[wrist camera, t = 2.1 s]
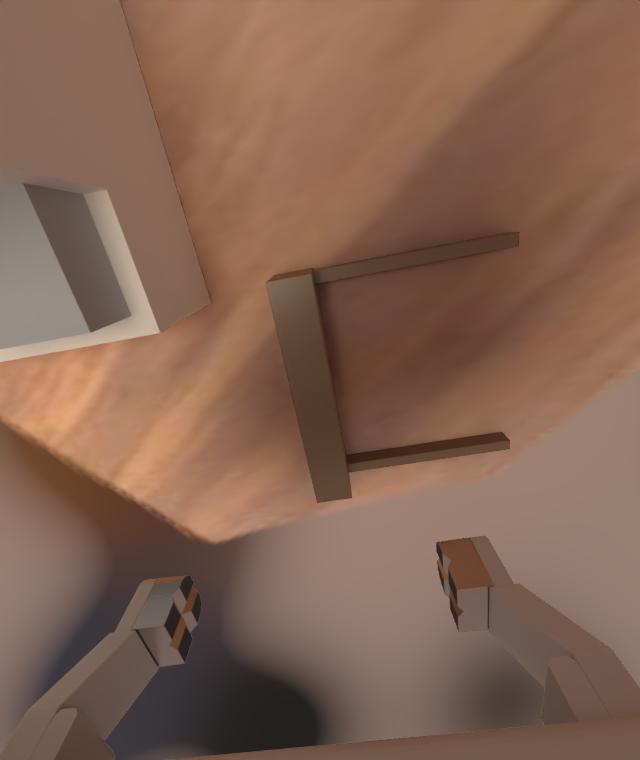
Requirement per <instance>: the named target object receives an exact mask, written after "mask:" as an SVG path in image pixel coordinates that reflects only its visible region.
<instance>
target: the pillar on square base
mask: <svg viewBox="0 0 640 760" xmlns="http://www.w3.org/2000/svg"><path fill="white" fill-rule="evenodd" d="M210 303H211V301H210V297H209V294H208V291H207V287H206V284H205V281H204V277H203V274H202V271H201V268H200V264H199V261H198V258H197V254H196V251H195V248H194V244H193V241H192V238H191V234H190V231H189V228H188V225H187V221H186V218H185V215H184V211H183V208H182V205H181V201H180V198H179V195H178V192H177V188H176V185H175V182H174V178H173V175H172V172H171V168H170V165H169V162H168V158H167V155H166V152H165V149H164V145H163V142H162V139H161V135H160V132H159V129H158V125H157V122H156V119H155V116H154V112H153V109H152V106H151V102H150V99H149V96H148V92H147V89H146V86H145V82H144V79H143V76H142V73H141V69H140V66H139V63H138V59H137V56H136V53H135V49H134V46H133V43H132V40H131V36H130V33H129V30H128V26H127V23H126V20H125V16H124V13H123V10H122V6H121V3H120V0H0V362H4V361H9V360H15V359H20V358H26V357H31V356H36V355H42V354H47V353H53V352H58V351H64V350H69V349H75V348H80V347H86V346H91V345H97V344H102V343H108V342H113V341H119V340H124V339H130V338H135V337H141V336H146V335H152V334H157V333H161V332H163V331H164V330H166V329H168V328H170V327H171V326H173V325H175V324H176V323H178V322H180V321H181V320H183V319H185V318H186V317H188V316H190V315H191V314H193V313H195V312H197V311H198V310H200V309H202V308H203V307H205V306H207V305H208V304H210Z"/></svg>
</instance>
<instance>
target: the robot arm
mask: <svg viewBox="0 0 640 760" xmlns="http://www.w3.org/2000/svg"><path fill="white" fill-rule="evenodd" d="M436 550H437V553H438V556H439V559H438V561H437V564H438V571H439V576H440V580H441V584H442V587H443V590H444V593H445V595H447V596H448V597H449V598H450V610H451V612H452V615H453V618H454V621H455V623H456V626H457V629H458V631H459V632H468V631H479V630H489V632H490V633H491V634H492V635H493V636H494V637H495V638H496V639H497V640H498V641H499V642H500V643H501V644H502V645H503V646H504V647H505V648H506V649H507V650H508V651H509V653H510V654H512V656H514V658H515V659H516V660H517V661H519V662H520V664H521V665H522V666H523V667H524V668H525V669H526V670H528V672H529V673H530V674H531V675H532V676H534V678H535V679H536V680H537V681H538V682H539V683H541V685H542V686H543V687H544V688H545V691H544V699H543V706H542V714H541V719H542V721H543V723H544V725H538V726H526V727H516V728H506V729H495V730H484V731H474V732H463V733H451V734H441V735H430V736H419V737H409V738H398V739H386V740H375V741H365V742H354V743H344V744H332V745H321V746H310V747H300V748H289V749H278V750H268V751H256V752H247V753H235V754H224V755H213V756H203V757H192V758H181V759H170V760H640V688H639V686H638V685H637V683H636V682H635V681H634V679H633V678H632V676H631V675H630V674H629V672H628V671H627V669H626V668H625V667H624V665H623V664H622V662H621V661H620V660H619V658H618V657H617V655H616V654H615V653H614V651H613V650H612V649H611V648H609V647H608V646H607V645H605V644H604V643H602V642H601V641H600V640H598V639H597V638H595V637H594V636H592V635H591V634H590V633H588V632H587V631H585V630H584V629H582V628H581V627H580V626H578V625H577V624H575V623H574V622H573V621H571V620H570V619H569V618H567V617H566V616H564V615H563V614H562V613H560V612H559V611H557V610H556V609H555V608H553V607H552V606H550V605H549V604H547V603H546V602H545V601H543V600H542V599H540V598H539V597H538V596H536V595H535V594H533V593H532V592H531V591H529V590H528V589H526V588H525V587H523V586H522V585H521V584H514V583H513V581H512V579H511V578H510V576H509V574H508V572H507V571H506V569H505V567H504V566H503V564H502V562H501V560H500V558H499V557H498V555H497V553H496V552H495V550H494V548H493V546H492V544H491V543H490V541H489V539H488V538H487V537H486V536H479V537H472V538H462V539H456V540H448V541H441V542H437V543H436ZM193 583H194V582H193V580H192V578H191V577H190V576H180V577H171V578H160V579H152V580H144V581H143V582H142V583H141V584H140V585H139V587H138V589H137V591H136V593H135V595H134V597H133V598H132V600H131V602H130V604H129V606H128V608H127V610H126V612H125V614H124V616H123V617H122V619H121V621H120V623H119V625H118V627H117V629H116V630H115V632H114V633H110V634H109V635H108V636H106V638H104V639H103V640H102V641H101V642H100V643H99V644H98V645H97V646H96V647H95V648H94V649H93V650H92V651H91V652H89V653H88V654H87V655H86V656H85V657H84V658H83V659H82V660H81V661H80V662H79V663H78V664H77V665H76V666H75V667H73V668H72V669H71V670H70V671H69V672H68V673H67V674H66V675H65V676H64V677H63V678H62V679H61V680H60V681H59V682H57V683H56V684H55V685H54V686H53V687H52V688H51V689H50V690H49V691H48V692H47V693H46V694H45V695H44V696H43V697H41V698H40V699H39V700H38V701H37V702H36V703H35V704H34V705H33V706H32V707H31V708H30V709H29V710H28V711H27V712H26V714H25V715H24V717H23V718H22V720H21V722H20V723H19V725H18V726H17V728H16V729H15V731H14V733H13V734H12V736H11V737H10V739H9V741H8V742H7V744H6V745H5V747H4V749H3V750H2V752H1V753H0V760H115V757H114V753H113V751H112V750H111V749H110V748H109V747H108V746H107V744H106V743H105V742H104V741H105V739H106V738H107V737H108V736H109V734H110V733H111V732H112V730H113V729H114V728H115V726H116V725H117V724H118V722H119V721H120V720H121V718H122V717H123V716H124V714H125V713H126V712H127V710H128V709H129V708H130V706H131V705H132V704H133V702H134V701H135V700H136V698H137V697H138V696H139V694H140V693H141V692H142V690H143V689H144V687H145V686H146V685H147V684H148V682H149V681H150V680H151V678H152V677H153V676H154V674H155V673H156V672H157V670H158V667H162V666H169V665H176V664H183V663H185V661H186V658H187V655H188V652H189V649H190V646H191V643H192V640H193V639H192V636H191V631H192V630H193V628H194V627H195V626H196V625H197V624H198V621H199V618H200V613H201V598H200V595H199V593H198V591H196V590H195V589H193V588H192V586H193Z"/></svg>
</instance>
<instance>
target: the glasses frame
mask: <svg viewBox="0 0 640 760" xmlns="http://www.w3.org/2000/svg"><path fill="white" fill-rule="evenodd" d="M517 246H519V232H509V233H503V234H498V235H493V236H487V237H482V238H477V239H472V240H466V241H461V242H456V243H451V244H445V245H440V246H435V247H429V248H424V249H419V250H414V251H408V252H403V253H398V254H392V255H387V256H382V257H377V258H371V259H366V260H361V261H355V262H350V263H345V264H340V265H334V266H329V267H324V268H319V269H313V268H310V269H305V270H299V271H294V272H289V273H284V274H278V275H274V276H273V277H272V278H270V279H269V280H268V281H267V282H265V283H266V287H267V291H268V296H269V300H270V304H271V308H272V313H273V317H274V321H275V325H276V330H277V334H278V338H279V342H280V347H281V351H282V355H283V359H284V364H285V368H286V372H287V376H288V381H289V385H290V389H291V393H292V398H293V402H294V406H295V410H296V415H297V419H298V423H299V427H300V432H301V436H302V440H303V444H304V449H305V453H306V457H307V461H308V466H309V470H310V474H311V478H312V483H313V487H314V491H315V495H316V500H317V503H319V502H326V501H333V500H340V499H347V498H352V493H351V485H350V477H349V472H355V471H361V470H368V469H375V468H382V467H389V466H396V465H403V464H410V463H416V462H423V461H430V460H437V459H444V458H451V457H458V456H465V455H471V454H478V453H485V452H492V451H499V450H506V449H510V440H509V439H508V438H507V437H506V436H505V435H504V434H503V433H502V432H500V433H493V434H487V435H480V436H473V437H466V438H460V439H453V440H446V441H440V442H433V443H426V444H419V445H413V446H406V447H399V448H393V449H386V450H379V451H372V452H366V453H359V454H352V455H346V450H345V445H344V439H343V434H342V428H341V423H340V417H339V411H338V406H337V400H336V395H335V389H334V384H333V378H332V372H331V367H330V361H329V356H328V350H327V345H326V339H325V333H324V328H323V322H322V317H321V311H320V306H319V300H318V295H317V289H316V284H318V283H323V282H329V281H334V280H339V279H345V278H350V277H356V276H361V275H366V274H372V273H377V272H382V271H388V270H393V269H399V268H404V267H409V266H415V265H420V264H425V263H431V262H436V261H441V260H447V259H452V258H458V257H463V256H468V255H474V254H479V253H484V252H490V251H495V250H501V249H506V248H511V247H517Z"/></svg>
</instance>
